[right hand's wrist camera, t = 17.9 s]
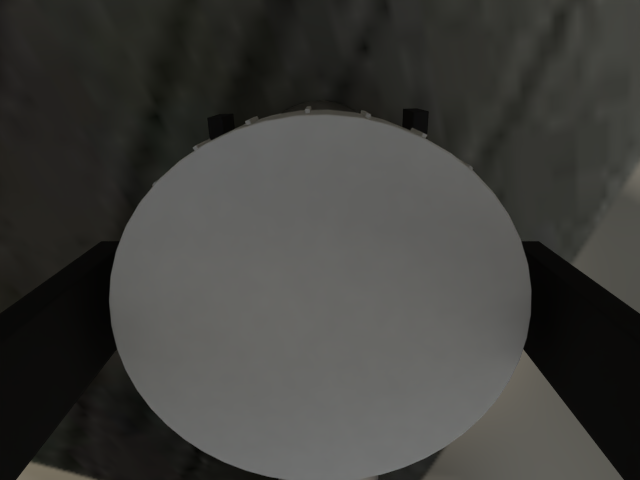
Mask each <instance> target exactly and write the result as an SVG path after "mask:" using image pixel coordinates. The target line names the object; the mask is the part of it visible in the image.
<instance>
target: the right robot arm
mask: <svg viewBox="0 0 640 480" xmlns="http://www.w3.org/2000/svg"><path fill="white" fill-rule="evenodd" d="M119 242H120V241H101V242H100V243H98V244H97V245H96V246H94V247H93V248H91V249H90V250H89V251H87V252H86V253H84V254H83V255H82V256H80V257H79V258H77V259H76V260H75V261H73V262H72V263H70V264H69V265H68V266H66V267H65V268H63V269H62V270H61V271H59V272H58V273H56V274H55V275H54V276H52V277H51V278H49V279H48V280H47V281H45V282H44V283H42V284H41V285H40V286H38V287H37V288H35V289H34V290H33V291H31V292H30V293H29V294H27V295H26V296H24V297H23V298H22V299H20V300H19V301H17V302H16V303H15V304H13V305H12V306H10V307H9V308H8V309H6V310H5V311H3V312H2V313H1V314H0V480H16V479H17V478H18V477H19V475H20V474H21V473H22V471H23V470H24V469H25V467H26V466H27V465H28V464H29V462H30V461H31V460H32V458H33V457H34V456H35V454H36V453H37V452H38V451H39V449H40V448H41V447H42V445H43V444H44V443H45V441H46V440H47V439H48V438H49V436H50V435H51V434H52V432H53V431H54V430H55V428H56V427H57V426H58V425H59V423H60V422H61V421H62V419H63V418H64V417H65V415H66V414H67V413H68V412H69V410H70V409H71V408H72V406H73V405H74V404H75V403H76V401H77V400H78V399H79V397H80V396H81V395H82V393H83V392H84V391H85V390H86V388H87V387H88V386H89V384H90V383H91V382H92V380H93V379H94V378H95V377H96V375H97V374H98V373H99V371H100V370H101V369H102V367H103V366H104V365H105V364H106V362H107V361H108V360H109V358H110V357H111V356H112V354H113V353H114V352H115V351H116V349H117V347H116V342H115V338H114V334H113V330H112V326H111V317H110V306H109V294H110V278H111V272H112V267H113V263H114V258H115V254H116V250H117V247H118V245H119ZM521 242H522V246H523V249H524V252H525V256H526V259H527V263H528V268H529V275H530V283H531V316H530V322H529V328H528V333H527V339H526V342H525V345H524V348H523V349H524V351H525V352H526V353H527V354H528V356H529V357H530V358H531V360H532V361H533V362H534V363H535V365H536V366H537V367H538V369H539V370H540V371H541V373H542V374H543V375H544V377H545V378H546V379H547V380H548V382H549V383H550V384H551V386H552V387H553V388H554V390H555V391H556V392H557V393H558V395H559V396H560V397H561V399H562V400H563V401H564V403H565V404H566V405H567V406H568V408H569V409H570V410H571V412H572V413H573V414H574V415H575V417H576V418H577V419H578V421H579V422H580V423H581V425H582V426H583V427H584V428H585V430H586V431H587V432H588V434H589V435H590V436H591V438H592V439H593V440H594V441H595V443H596V444H597V445H598V447H599V448H600V449H601V451H602V452H603V453H604V454H605V456H606V457H607V458H608V460H609V461H610V462H611V464H612V465H613V466H614V467H615V469H616V470H617V471H618V473H619V474H620V475H621V477H622V478H623V479H624V480H640V314H639V313H638V312H637V311H635V310H634V309H632V308H631V307H630V306H628V305H627V304H625V303H624V302H623V301H621V300H620V299H618V298H617V297H616V296H614V295H613V294H611V293H610V292H609V291H607V290H606V289H605V288H603V287H602V286H600V285H599V284H598V283H596V282H595V281H593V280H592V279H590V278H589V277H588V276H586V275H585V274H583V273H582V272H581V271H579V270H578V269H577V268H575V267H574V266H572V265H571V264H570V263H568V262H567V261H565V260H564V259H563V258H561V257H560V256H558V255H557V254H556V253H554V252H553V251H551V250H550V249H549V248H547V247H546V246H544V245H543V244H542V243H540V242H539V241H521Z"/></svg>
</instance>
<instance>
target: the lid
mask: <svg viewBox="0 0 640 480" xmlns="http://www.w3.org/2000/svg"><path fill="white" fill-rule="evenodd" d="M245 123H246V124H244V125H242V126H240V127H238V128H236V129H234V130H232V131H229V132H227V133H225V134H223V135H221V136H219V137H217V138H215V139H213V140H210V139H208V140H206V141H204V142H202V143H200V144H198V145H196V146H194V147H193V149H194V150H195V151H193V152H192V153H190V154H189V155H187V156H186V157H184V158H183V159H182V160H180V161H179V162H178V163H177V164H175V165H174V166H173V167H172V168H171V169H170V170H169V171H168V172H167V173H165V174H164V175H163V176H162V177H161V178H160V179H159V180H157V181H156V182H154V183H153V185H152V186H153V187H152V188H151V189H150V191H149V192H148V193H147V194H146V195H145V197H144V198H143V199H142V200H141V202H140V203H139V205H138V206H137V208H136V210H135V211H134V213H133V215H132V217H131V218H130V220H129V222H128V223H127V225H126V227H125V230H124V232H123V235H122V237H121V240H120V242H119V245H118V247H117V250H116V254H115V258H114V263H113V267H112V272H111V278H110V294H109V306H110V317H111V326H112V330H113V334H114V338H115V342H116V347H117V350H118V352H119V355H120V357H121V360H122V362H123V365H124V367H125V370H126V371H127V373H128V375H129V377H130V378H131V380H132V382H133V384H134V386H135V387H136V389H137V391H138V392H139V393H140V395H141V396H142V397H143V399H144V400H145V401H146V403H147V404H148V405H149V406H150V408H151V409H152V410H153V411H154V412H155V413H156V414H157V415H158V416H159V417H160V418H161V419H162V420H163V421H164V422H165V423H166V424H167V425H168V426H169V427H170V428H171V429H173V430H174V431H175V432H176V433H177V434H179V435H180V436H181V437H182V438H184V439H185V440H186V441H188V442H189V443H191V444H192V445H194V446H196V447H197V448H199V449H200V450H202V451H203V452H205V453H207V454H209V455H211V456H213V457H215V458H217V459H219V460H221V461H223V462H225V463H228V464H230V465H233V466H235V467H238V468H241V469H243V470H246V471H249V472H253V473H257V474H260V475H264V476H268V477H273V478H279V479H285V480H356V479H362V478H367V477H372V476H376V475H381V474H384V473H388V472H391V471H394V470H397V469H400V468H403V467H406V466H408V465H410V464H413V463H415V462H417V461H420V460H422V459H424V458H426V457H428V456H430V455H431V454H433V453H435V452H437V451H439V450H440V449H442V448H444V447H446V446H447V445H448V444H450V443H451V442H452V441H454V440H455V439H457V438H458V437H459V436H461V435H462V434H464V433H465V432H466V431H467V430H468V429H469V428H470V427H471V426H473V425H474V424H475V423H476V422H477V421H478V420H479V419H480V418H481V417H482V416H483V415H484V414H485V413H486V411H487V410H488V409H489V408H490V407H491V406H492V405H493V403H494V402H495V401H496V400H497V398H498V397H499V395H500V394H501V392H502V391H503V389H504V388H505V386H506V385H507V383H508V382H509V380H510V378H511V376H512V374H513V372H514V370H515V368H516V366H517V364H518V362H519V360H520V357H521V354H522V351H523V348H524V345H525V342H526V339H527V333H528V328H529V322H530V316H531V283H530V275H529V268H528V263H527V259H526V256H525V252H524V249H523V246H522V242H521V239H520V237H519V235H518V233H517V231H516V229H515V227H514V224H513V222H512V220H511V218H510V216H509V214H508V213H507V211H506V210H505V208H504V207H503V206H502V204H501V203H500V201H499V200H498V198H497V197H496V195H495V194H494V192H493V191H492V190H491V189H490V188H489V187H488V186H487V185H486V184H485V183H484V182H483V181H482V180H481V179H480V177H479V176H478V175H477V174H476V173H475V172H474V171H473V170H472V169H473V168H472V167H471V166H470V165H468V164H467V163H465V162H463V161H461V160H459V159H458V158H456V157H455V156H454V155H452V154H451V153H450V152H448V151H446V150H445V149H443V148H441V147H439V146H438V145H436V144H434V143H432V142H431V141H429V140H427V139H426V137H427V135H426V134H425V133H422V132H420V131H418V130H416V129H414V128H411V130H408V129H406V128H403V127H401V126H398V125H396V124H393V123H391V122H388V121H386V120H383V119H380V118H376V117H372V116H371V114H369V113H368V112H366V111H363V110H361V113H355V112H346V111H336V110H311V106H307V107H306V109H305V110H300V111H294V112H288V113H282V114H276V115H271V116H268V117H265V118H262V119H259V120H258V116H256V117H253V118H251V119H249V120H247V121H245Z"/></svg>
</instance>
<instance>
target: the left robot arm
mask: <svg viewBox="0 0 640 480" xmlns="http://www.w3.org/2000/svg"><path fill="white" fill-rule="evenodd" d="M428 112H429V111H425V110H421V109H403V126H402V127H403V128H406V129H408V130H411V128H414V129H416V130H418V131H420V132H422V133H425V134H426V135H427V128H428ZM208 126H209V135H210V140H213V139H215V138H217V137H219V136H221V135H223V134H225V133H227V132H229V131H232V130H234V119H233V114H219V115H216V116H212V117H209V118H208ZM426 139H427V137H426ZM279 480H285V479H279ZM356 480H378V475H376V476H372V477H367V478H362V479H356Z"/></svg>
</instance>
